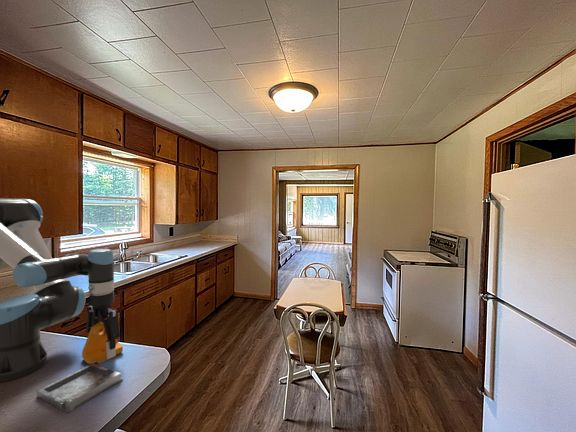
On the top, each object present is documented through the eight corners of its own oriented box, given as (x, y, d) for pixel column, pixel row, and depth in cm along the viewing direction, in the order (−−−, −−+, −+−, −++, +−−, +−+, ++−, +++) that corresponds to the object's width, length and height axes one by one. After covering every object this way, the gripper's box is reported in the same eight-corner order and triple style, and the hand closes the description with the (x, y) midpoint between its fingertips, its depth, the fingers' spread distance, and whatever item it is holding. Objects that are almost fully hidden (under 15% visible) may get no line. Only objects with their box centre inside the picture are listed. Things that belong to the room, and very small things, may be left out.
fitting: (37, 396, 78) (37, 388, 78) (93, 368, 91) (92, 361, 91) (67, 413, 72) (67, 403, 71) (122, 380, 85) (122, 372, 85)
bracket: (88, 366, 92) (88, 332, 92) (82, 359, 97) (81, 326, 96) (123, 353, 101) (123, 321, 100) (115, 347, 105) (115, 316, 105)
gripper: (72, 291, 99) (74, 353, 100) (110, 299, 90) (111, 367, 91) (94, 286, 106) (96, 343, 106) (131, 293, 97) (132, 355, 98)
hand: (103, 354), depth 99 cm, fingers closed on bracket, 8 cm apart
